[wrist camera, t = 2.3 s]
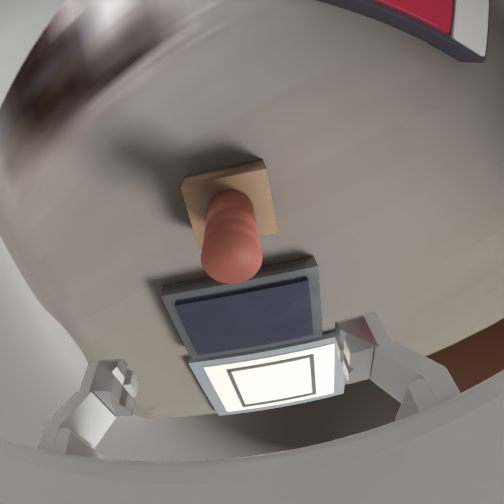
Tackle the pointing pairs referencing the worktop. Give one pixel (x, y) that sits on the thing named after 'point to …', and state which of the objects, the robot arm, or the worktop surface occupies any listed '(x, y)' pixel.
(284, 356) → the board
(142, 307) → the worktop surface
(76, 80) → the worktop surface
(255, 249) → the stamp
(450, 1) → the calculator
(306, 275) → the ink pad
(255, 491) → the robot arm
